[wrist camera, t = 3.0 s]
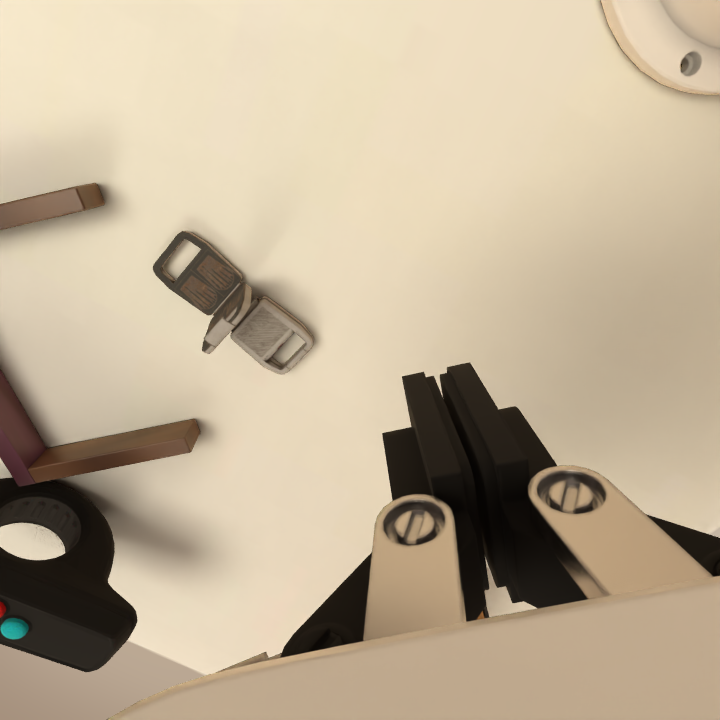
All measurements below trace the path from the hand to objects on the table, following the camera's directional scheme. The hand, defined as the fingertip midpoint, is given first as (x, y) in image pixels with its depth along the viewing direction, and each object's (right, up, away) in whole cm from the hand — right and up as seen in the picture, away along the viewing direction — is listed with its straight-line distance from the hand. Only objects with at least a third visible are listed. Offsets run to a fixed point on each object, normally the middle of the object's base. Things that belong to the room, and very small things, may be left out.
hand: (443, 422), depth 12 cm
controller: (-20, -7, +18) cm, 28 cm away
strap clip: (-8, +5, +13) cm, 16 cm away
